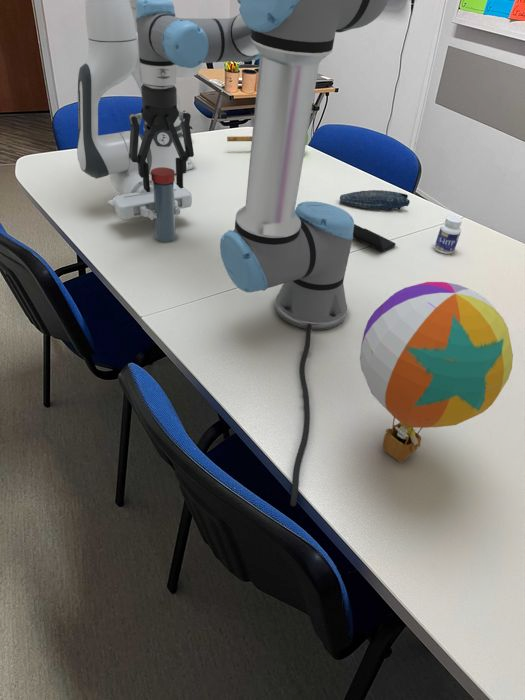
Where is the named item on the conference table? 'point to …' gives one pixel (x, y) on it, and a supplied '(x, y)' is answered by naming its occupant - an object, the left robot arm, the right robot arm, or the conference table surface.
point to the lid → (162, 175)
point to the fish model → (376, 199)
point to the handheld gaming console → (372, 239)
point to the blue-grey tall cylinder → (164, 211)
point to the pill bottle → (448, 235)
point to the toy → (434, 359)
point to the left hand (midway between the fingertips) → (166, 214)
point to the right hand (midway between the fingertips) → (163, 187)
